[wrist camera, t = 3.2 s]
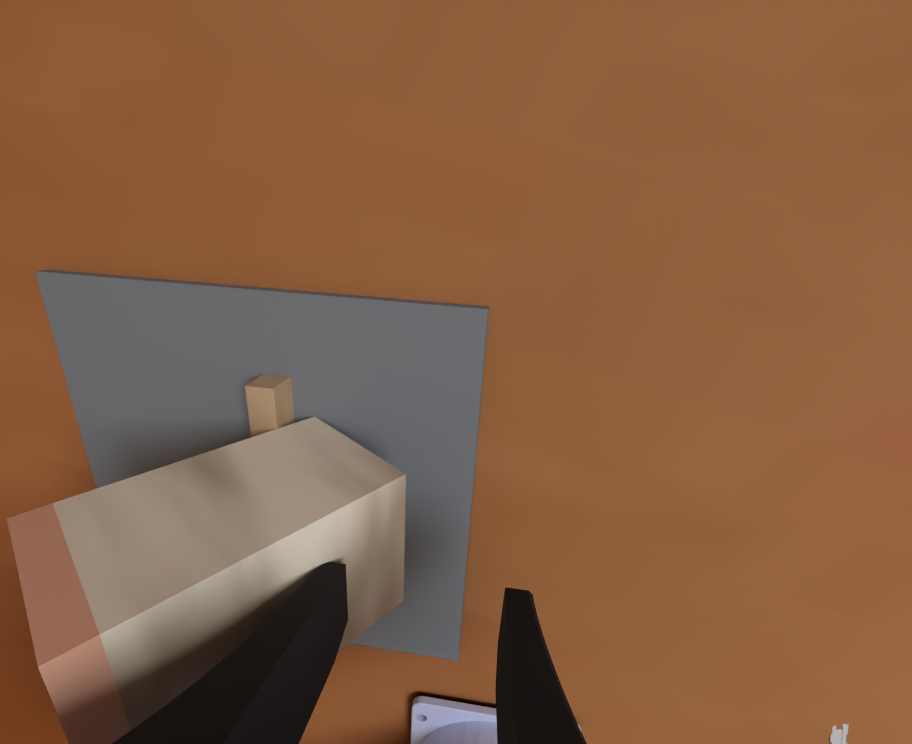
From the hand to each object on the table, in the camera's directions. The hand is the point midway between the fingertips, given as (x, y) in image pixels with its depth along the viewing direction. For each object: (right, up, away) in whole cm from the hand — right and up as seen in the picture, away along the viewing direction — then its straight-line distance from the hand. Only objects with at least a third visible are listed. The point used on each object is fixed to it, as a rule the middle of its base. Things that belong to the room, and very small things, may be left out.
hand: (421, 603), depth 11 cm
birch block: (-3, +2, +4) cm, 5 cm away
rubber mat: (-6, +2, +6) cm, 9 cm away
